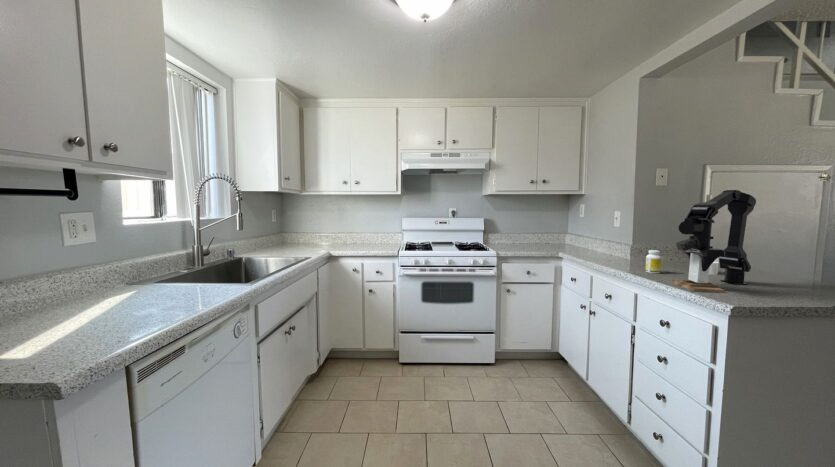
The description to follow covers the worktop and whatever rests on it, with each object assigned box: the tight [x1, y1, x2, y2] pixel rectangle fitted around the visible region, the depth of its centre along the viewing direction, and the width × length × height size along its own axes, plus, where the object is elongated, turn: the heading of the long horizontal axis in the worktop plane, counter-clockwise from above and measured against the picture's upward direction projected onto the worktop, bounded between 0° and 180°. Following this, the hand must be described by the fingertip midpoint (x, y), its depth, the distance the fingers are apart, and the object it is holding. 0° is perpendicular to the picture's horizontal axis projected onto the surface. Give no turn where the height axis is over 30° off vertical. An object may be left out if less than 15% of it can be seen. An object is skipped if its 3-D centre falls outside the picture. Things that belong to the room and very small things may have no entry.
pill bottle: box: [645, 249, 662, 274], centre depth 163 cm, size 6×6×12 cm
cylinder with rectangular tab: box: [697, 251, 720, 276], centre depth 162 cm, size 9×9×12 cm
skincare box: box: [687, 253, 710, 283], centre depth 133 cm, size 6×4×12 cm
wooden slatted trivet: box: [672, 279, 725, 294], centre depth 134 cm, size 14×11×2 cm
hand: (698, 269), depth 133 cm, fingers closed on skincare box, 6 cm apart
